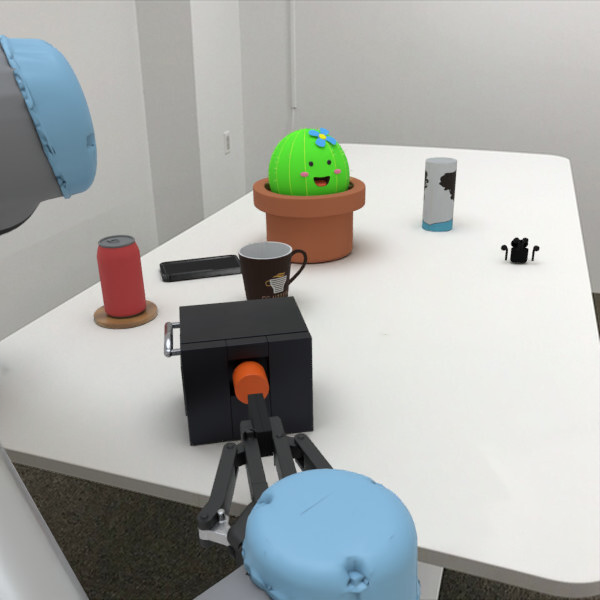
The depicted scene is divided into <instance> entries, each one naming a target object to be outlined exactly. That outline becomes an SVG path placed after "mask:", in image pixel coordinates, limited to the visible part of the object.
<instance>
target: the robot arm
mask: <svg viewBox="0 0 600 600" xmlns="http://www.w3.org/2000/svg"><path fill="white" fill-rule="evenodd" d="M97 148H98V147H97V141H96V133H95V128H94V124H93V119H92V115H91V112H90V108H89V105H88V102H87V98H86V96H85V93H84V90H83V88H82V86H81V83H80V81H79V79H78V76H77V74H76V73H75V71H74V69H73V68H72V66H71V64H70V62H69V61H68V59H67V57H65V55H64V54H63V53H62V52H61V51H60V50H59V49H58V48H57V47H55V46H54V45H52V44H51V43H49V42H48V41H46V40H43V39H40V38H28V37H27V38H24V37H7V36H6V35H4V34H0V237H1V236H4V235H8V234H9V233H12V232H13V231H15V230H17V229H19V228H20V227H21V226H22V225H24V224H25V223H26V222H27V221H28V220H29V219H30V218H31V217H32V216H33V214H34V213H35V212H36V210H37V208H38V207H39V205H40V204H41V203H43V202H45V201H50V200H53V199H58V198H62V197H63V198H64V199H65V200H67V199H70V198H72V196H74V195H79V194H82V193H84V192H86V191H88V190H89V189H90V188H91V186H92V185H93V184H94V181H95V178H96V174H97V169H98V149H97ZM247 396H248V412H249V420H244V421H241V423H240V433H241V440H240V441H241V442H239V443H238V444H237V443H236V442H233V441H229V442H226V443H225V444H223V447H222V450H221V453H220V457H219V461H218V465H217V469H216V472H215V475H214V476H215V477H214V479H213V483H212V488H211V491H210V495H209V499H208V501H207V502H206V503H205V505H204V506H203V507H202V508H201V510H200V511H199V512H198V514H197V515H196V528H197V538H198V545H199V546H200V547H201V548H204V549H208V548H211V547H213V546H214V545H215V543H217V544H219V545H222V546H226V547H227V551H228V554H229V555H230V557H231V558H232V559H233V560H234V561H235V563H236V569H235V570H234V571H232V572H231V573H229V574H228V575H226V576H225V577H224V578H222V579H221V580H219V581H218V582H216V583H214V584H213V585H212V586H210V587H209V588H207V590H205V591H203V592H202V593H201V594H199V595H198V596H196V597H195V598H192V600H421V595H422V592H421V587H422V585H421V581H420V578H419V576H418V532H417V528H416V523H415V521H414V518H413V516H412V514H411V512H410V510H409V508H408V507H407V505H406V504H405V503H404V501H402V499H401V498H400V497H399V496H398V495H397V494H396V493H395V492H394V491H392V490H391V489H390V488H387V487H386V486H384V485H383V483H379V482H376V481H375V480H374V479H373V478H371V477H370V476H367V475H365V474H363V473H358V472H355V471H351V470H346V469H340V468H339V469H338V468H334V467H333V466H332V465H331V464H330V462H329V461H328V460H327V459H326V457H325V456H324V455H323V453H322V452H321V450H319V449H318V447H317V446H316V444H314V442H313V440H312V439H311V438H310V437H309V436H308V434H306V433H305V432H298V433H295V435H293V436H289V435H288V434H285V432H284V429H283V425H282V422H281V419H280V418H279V417H278V416H274V417H269V416H268V412H267V408H266V404H265V401H264V397H263V393H257V394H249V395H247ZM266 457H273V466H274V467H275V471H276V474H277V478H278V480H277V481H276V482H274V483H273V484H271V485H270V486H269V483H268V481H267V478H266V473H265V469H264V464H263V459H262V458H266ZM295 463H296V464H295ZM296 465H297V466H298V467H299V469H300V471H299V472H298V471H297V467H296ZM242 466H244V467H245V472H246V478H247V484H248V488H249V495H250V500H251V501H250V502H249V503H248V504H247V505H246V506H245V508H244V510H242V512H241V513H240V514H239V516H238V517H237V518H236V519H235V520H234V521H233V523H232V525H231V523H230V513H231V508H232V507H231V506H232V503H233V498H234V493H235V489H236V484H237V480H238V474H239V472H240V467H242ZM0 600H90V599H89V597H88V595H87V592H86V591H85V590H84V588H83V586H82V584H81V583H80V581H79V579H78V577H77V575H76V573H75V572H74V570H73V569H72V567H71V565H70V563H69V561H68V560H67V558H66V556H65V555H64V552H63V550H62V549H61V547H60V545H59V543H58V542H57V540H56V538H55V535H53V533H52V531H51V529H50V527H49V526H48V525H47V522H46V520H45V519H44V517H43V515H42V514H41V512H40V510H39V508H38V507H37V504H36V503H35V501H34V499H33V497H32V495H31V494H30V492H29V490H28V489H27V486H26V485H25V483H24V482H23V479H22V478H21V476H20V474H19V472H18V471H17V469H16V467H15V465H14V463H13V462H12V460H11V458H10V456H9V455H8V453H7V451H6V449H5V447H4V446H3V444H2V442H1V441H0Z"/></svg>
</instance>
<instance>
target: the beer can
mask: <svg viewBox="0 0 600 600" xmlns="http://www.w3.org/2000/svg"><path fill="white" fill-rule="evenodd" d="M96 249H97V250H96V262H97V269H98V275H99V276H98V277H99V282H100V283H99V284H100V289H101V294H102V302H103V305H104V309H105V312H106V313H107V314H108V315H110V316H112V317H116V318H126V317H132V316H136V315H138V314H140V313H141V312H143V311H144V310H145V308H146V300H147V299H146V291H145V282H144V274H143V267H142V259H141V251H140V247H139V246H138V244H137V242H136V238H135V237H134V236H132V235H130V234H114V235H108V236H105V237H102V238H100V239H99V240H98V241H97V248H96Z"/></svg>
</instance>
